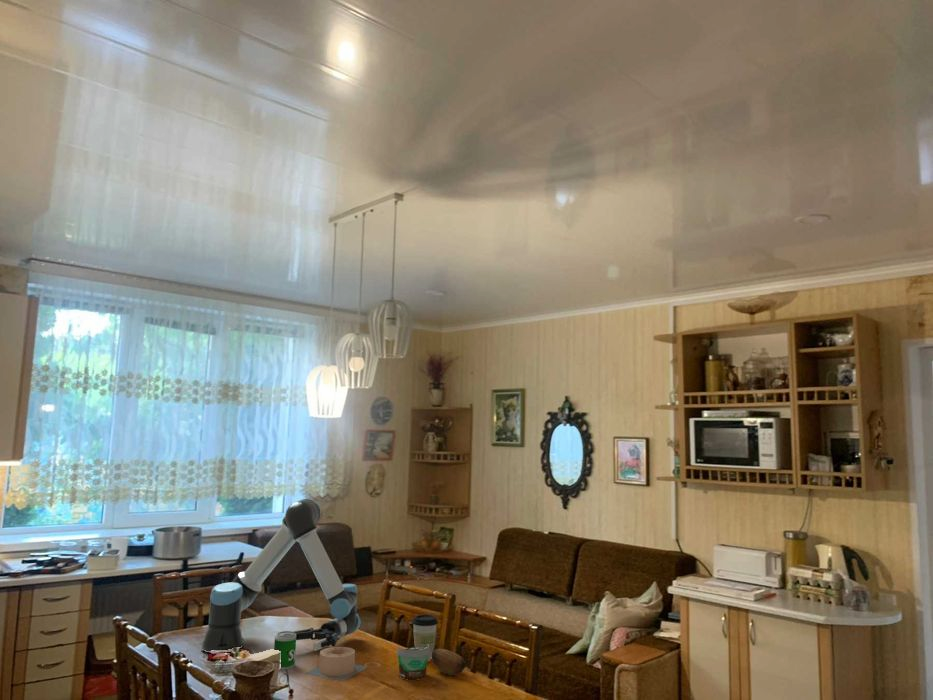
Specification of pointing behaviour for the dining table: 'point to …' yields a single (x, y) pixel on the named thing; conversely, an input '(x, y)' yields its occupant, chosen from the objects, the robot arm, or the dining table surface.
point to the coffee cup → (425, 631)
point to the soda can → (286, 648)
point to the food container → (413, 662)
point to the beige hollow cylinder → (336, 661)
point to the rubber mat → (316, 673)
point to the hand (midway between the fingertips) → (299, 644)
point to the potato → (448, 661)
